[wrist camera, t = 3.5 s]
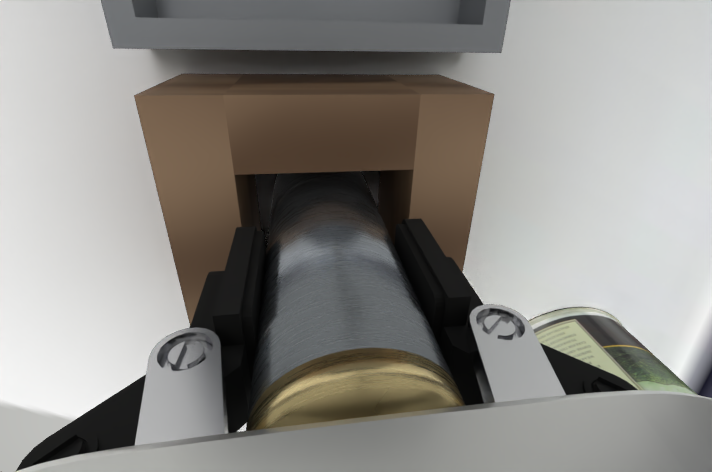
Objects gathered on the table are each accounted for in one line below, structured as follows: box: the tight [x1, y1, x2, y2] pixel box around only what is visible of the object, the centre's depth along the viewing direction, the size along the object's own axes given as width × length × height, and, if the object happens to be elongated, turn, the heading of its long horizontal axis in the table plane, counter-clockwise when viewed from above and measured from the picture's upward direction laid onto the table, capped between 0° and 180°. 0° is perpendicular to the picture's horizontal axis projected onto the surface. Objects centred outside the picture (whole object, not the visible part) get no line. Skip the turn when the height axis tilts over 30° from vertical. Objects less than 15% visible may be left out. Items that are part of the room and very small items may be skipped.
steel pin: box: [246, 171, 466, 431], centre depth 12 cm, size 4×4×12 cm
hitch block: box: [134, 74, 494, 325], centre depth 15 cm, size 10×10×5 cm
